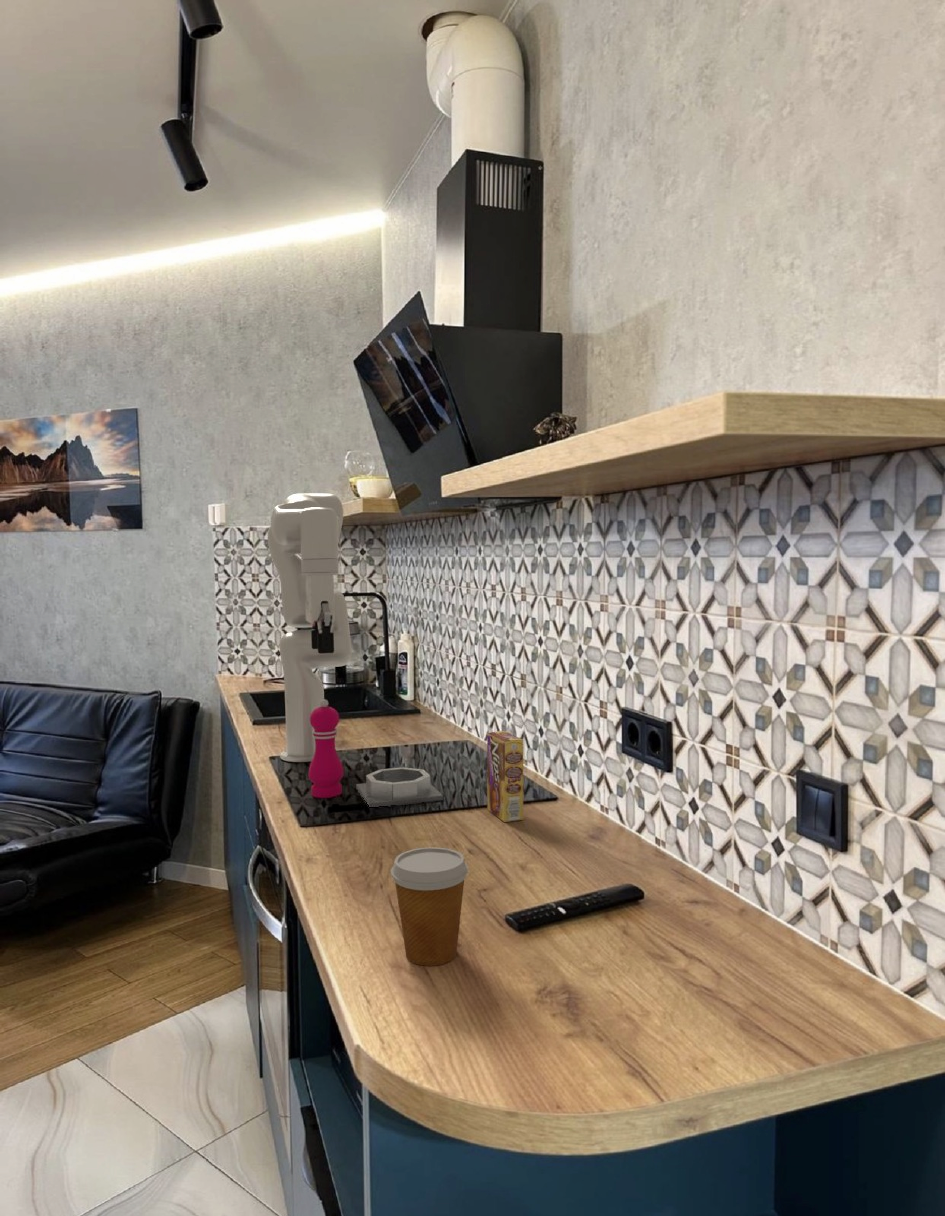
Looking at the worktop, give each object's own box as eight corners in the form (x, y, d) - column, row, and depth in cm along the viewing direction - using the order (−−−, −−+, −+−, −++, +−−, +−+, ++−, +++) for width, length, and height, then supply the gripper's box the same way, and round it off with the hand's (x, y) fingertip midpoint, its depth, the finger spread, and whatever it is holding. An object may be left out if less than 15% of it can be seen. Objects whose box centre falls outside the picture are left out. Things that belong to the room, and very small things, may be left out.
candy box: (525, 820, 156) (524, 739, 155) (504, 823, 154) (502, 741, 153) (507, 807, 164) (506, 730, 163) (486, 809, 162) (485, 732, 161)
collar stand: (356, 788, 179) (355, 770, 179) (424, 781, 183) (423, 763, 183) (369, 808, 165) (369, 788, 164) (443, 800, 169) (442, 780, 169)
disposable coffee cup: (485, 953, 104) (483, 858, 103) (427, 981, 97) (425, 880, 96) (434, 929, 111) (432, 840, 110) (377, 954, 104) (374, 860, 103)
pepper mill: (347, 789, 179) (345, 696, 177) (339, 799, 171) (336, 702, 170) (314, 789, 179) (312, 696, 178) (304, 798, 172) (301, 702, 171)
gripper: (297, 568, 179) (299, 648, 180) (306, 568, 163) (309, 656, 164) (332, 567, 182) (334, 646, 183) (345, 567, 165) (347, 653, 166)
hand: (322, 650), depth 173 cm, fingers open, 9 cm apart
